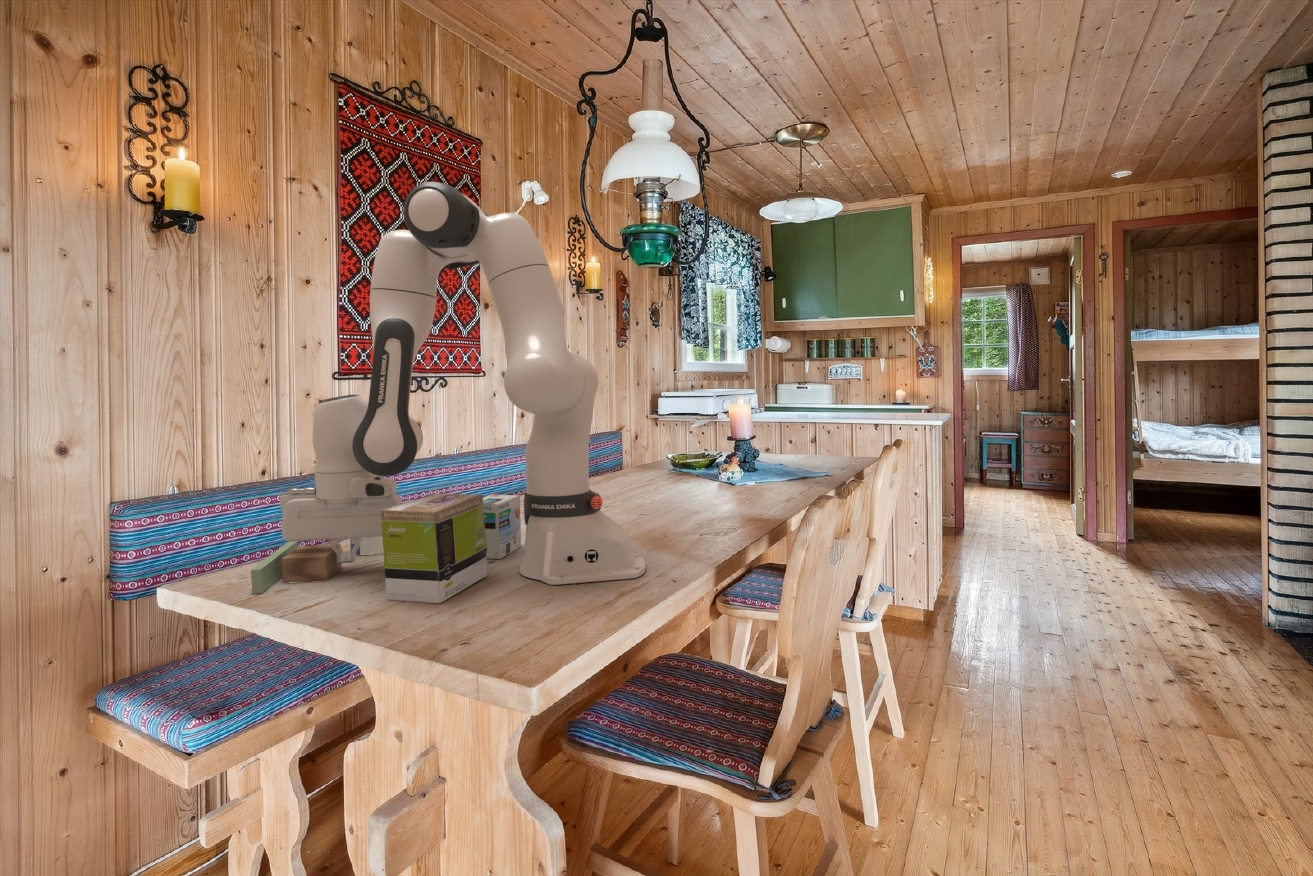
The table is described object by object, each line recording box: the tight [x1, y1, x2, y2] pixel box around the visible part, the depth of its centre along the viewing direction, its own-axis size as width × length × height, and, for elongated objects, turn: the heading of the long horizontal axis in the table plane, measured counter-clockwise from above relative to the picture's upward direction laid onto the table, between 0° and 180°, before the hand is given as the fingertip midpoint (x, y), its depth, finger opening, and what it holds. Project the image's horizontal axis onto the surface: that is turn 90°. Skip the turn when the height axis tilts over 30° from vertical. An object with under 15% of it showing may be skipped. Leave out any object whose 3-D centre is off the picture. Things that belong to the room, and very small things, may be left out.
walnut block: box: [282, 543, 343, 584], centre depth 121 cm, size 7×9×4 cm
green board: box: [250, 541, 299, 595], centre depth 121 cm, size 2×20×4 cm, turn 12°
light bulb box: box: [483, 494, 522, 560], centre depth 136 cm, size 11×7×11 cm, turn 168°
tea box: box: [381, 493, 488, 604], centre depth 112 cm, size 15×10×15 cm, turn 165°
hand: (347, 562), depth 123 cm, fingers closed
